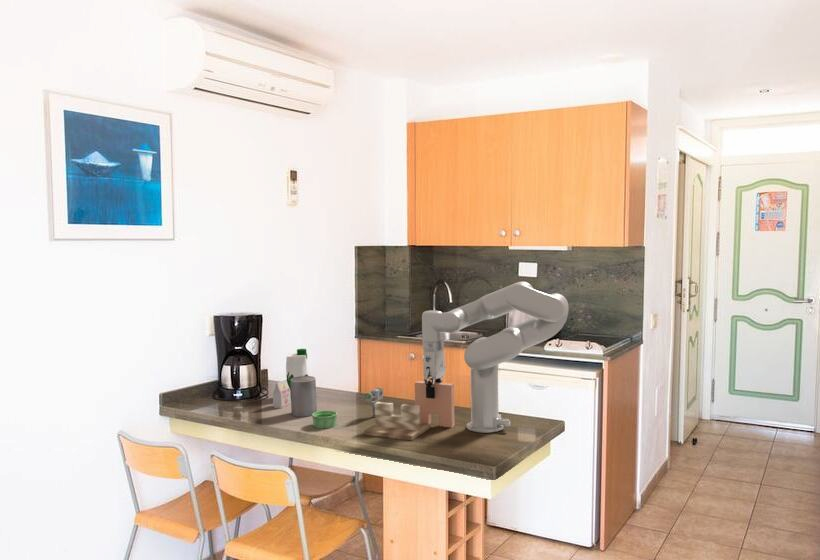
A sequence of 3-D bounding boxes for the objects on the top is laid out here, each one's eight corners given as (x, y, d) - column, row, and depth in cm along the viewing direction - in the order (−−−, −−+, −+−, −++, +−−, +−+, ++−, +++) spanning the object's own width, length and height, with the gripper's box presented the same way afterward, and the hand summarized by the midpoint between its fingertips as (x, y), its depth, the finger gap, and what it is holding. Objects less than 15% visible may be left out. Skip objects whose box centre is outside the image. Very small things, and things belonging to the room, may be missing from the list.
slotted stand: (430, 428, 242) (429, 401, 242) (412, 440, 229) (411, 412, 228) (384, 423, 250) (383, 397, 249) (364, 434, 236) (363, 407, 236)
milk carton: (308, 398, 290) (306, 351, 289) (286, 399, 289) (284, 351, 288) (309, 393, 299) (308, 347, 297) (288, 394, 298) (286, 348, 297)
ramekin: (333, 429, 244) (333, 417, 244) (309, 428, 246) (308, 416, 245) (340, 422, 253) (340, 410, 253) (316, 421, 254) (316, 410, 254)
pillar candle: (298, 409, 272) (296, 372, 271) (321, 410, 269) (319, 372, 268) (287, 416, 263) (285, 377, 261) (310, 417, 260) (309, 378, 259)
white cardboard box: (273, 407, 276) (272, 383, 275) (283, 403, 282) (282, 379, 281) (281, 408, 275) (280, 383, 274) (290, 404, 281) (289, 380, 280)
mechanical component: (364, 419, 255) (363, 393, 254) (378, 413, 264) (377, 387, 263) (371, 420, 254) (370, 393, 253) (385, 413, 263) (384, 387, 262)
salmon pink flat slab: (454, 425, 245) (453, 383, 244) (452, 427, 243) (451, 385, 241) (418, 421, 251) (417, 381, 250) (415, 423, 248) (414, 382, 247)
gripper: (433, 350, 235) (434, 402, 236) (451, 342, 251) (452, 391, 252) (413, 349, 238) (414, 400, 240) (432, 341, 254) (433, 389, 255)
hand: (434, 395), depth 246 cm, fingers open, 6 cm apart
